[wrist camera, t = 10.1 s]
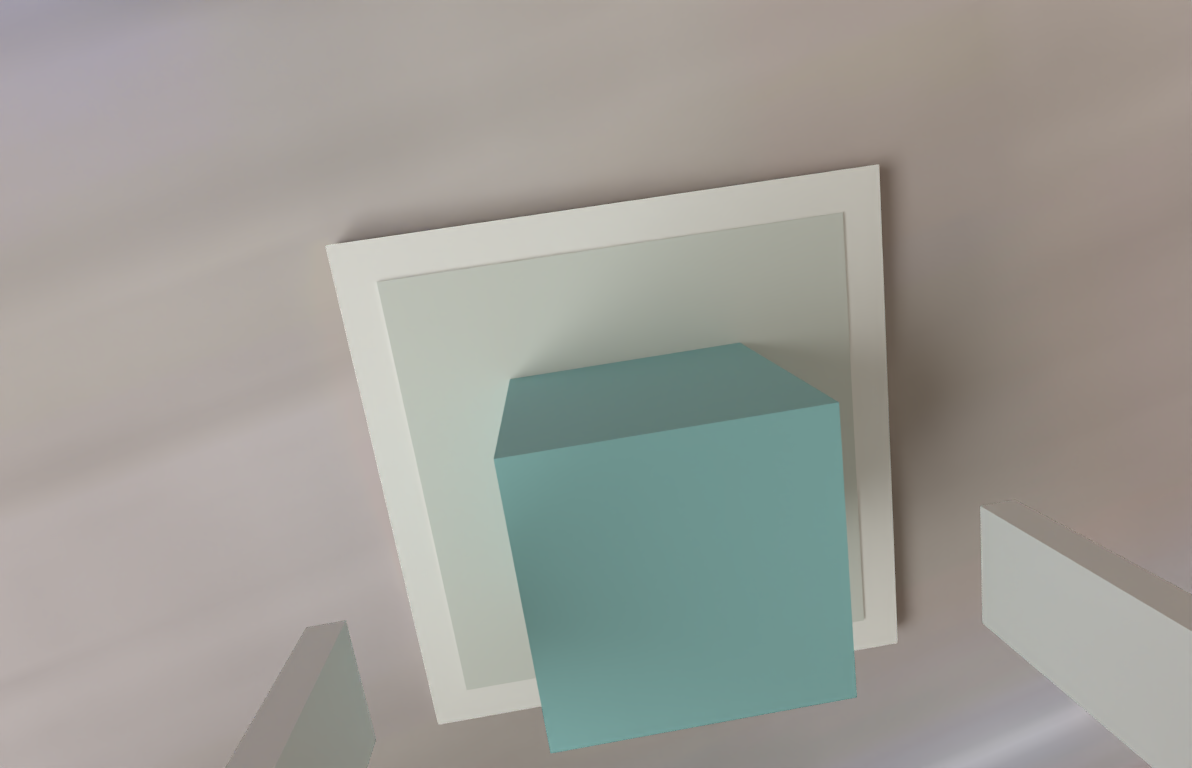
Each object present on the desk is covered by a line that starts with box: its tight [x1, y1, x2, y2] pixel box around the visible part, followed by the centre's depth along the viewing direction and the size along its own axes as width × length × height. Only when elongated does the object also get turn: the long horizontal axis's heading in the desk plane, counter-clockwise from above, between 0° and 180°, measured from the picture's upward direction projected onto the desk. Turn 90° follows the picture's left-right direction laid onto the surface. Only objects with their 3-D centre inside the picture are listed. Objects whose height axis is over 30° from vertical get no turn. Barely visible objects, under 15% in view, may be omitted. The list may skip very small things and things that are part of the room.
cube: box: [494, 343, 857, 753], centre depth 18 cm, size 7×7×7 cm
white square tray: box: [325, 164, 898, 725], centre depth 21 cm, size 16×16×1 cm
